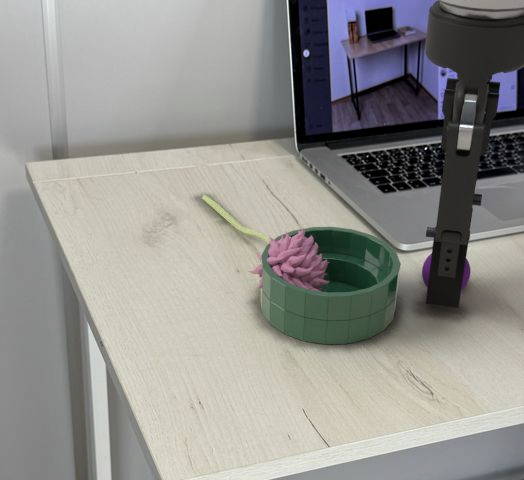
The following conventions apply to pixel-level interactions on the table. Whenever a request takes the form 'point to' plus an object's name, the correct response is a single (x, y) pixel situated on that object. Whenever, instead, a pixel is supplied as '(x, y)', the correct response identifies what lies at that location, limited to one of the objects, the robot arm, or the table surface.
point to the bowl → (336, 289)
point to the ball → (427, 269)
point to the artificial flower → (287, 255)
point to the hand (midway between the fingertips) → (444, 288)
